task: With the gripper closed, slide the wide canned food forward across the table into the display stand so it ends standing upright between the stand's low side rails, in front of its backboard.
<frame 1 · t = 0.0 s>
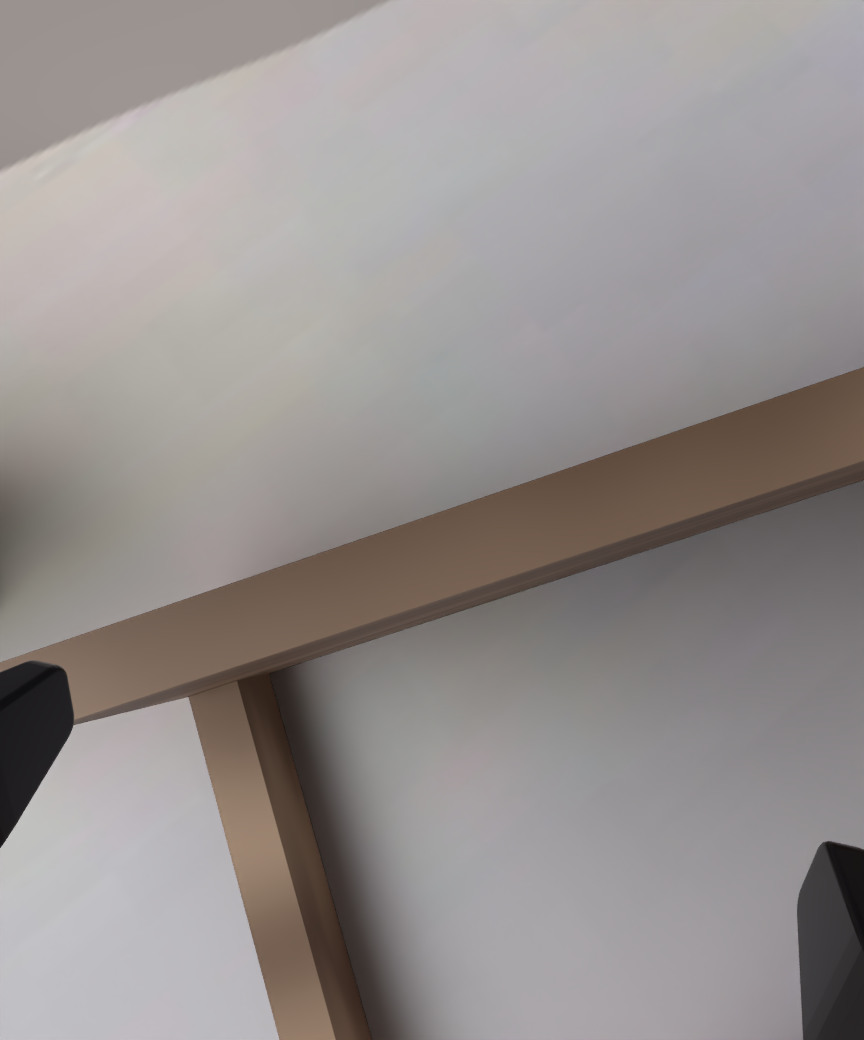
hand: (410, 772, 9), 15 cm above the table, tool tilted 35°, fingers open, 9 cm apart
display stand: (700, 815, 23), on the table
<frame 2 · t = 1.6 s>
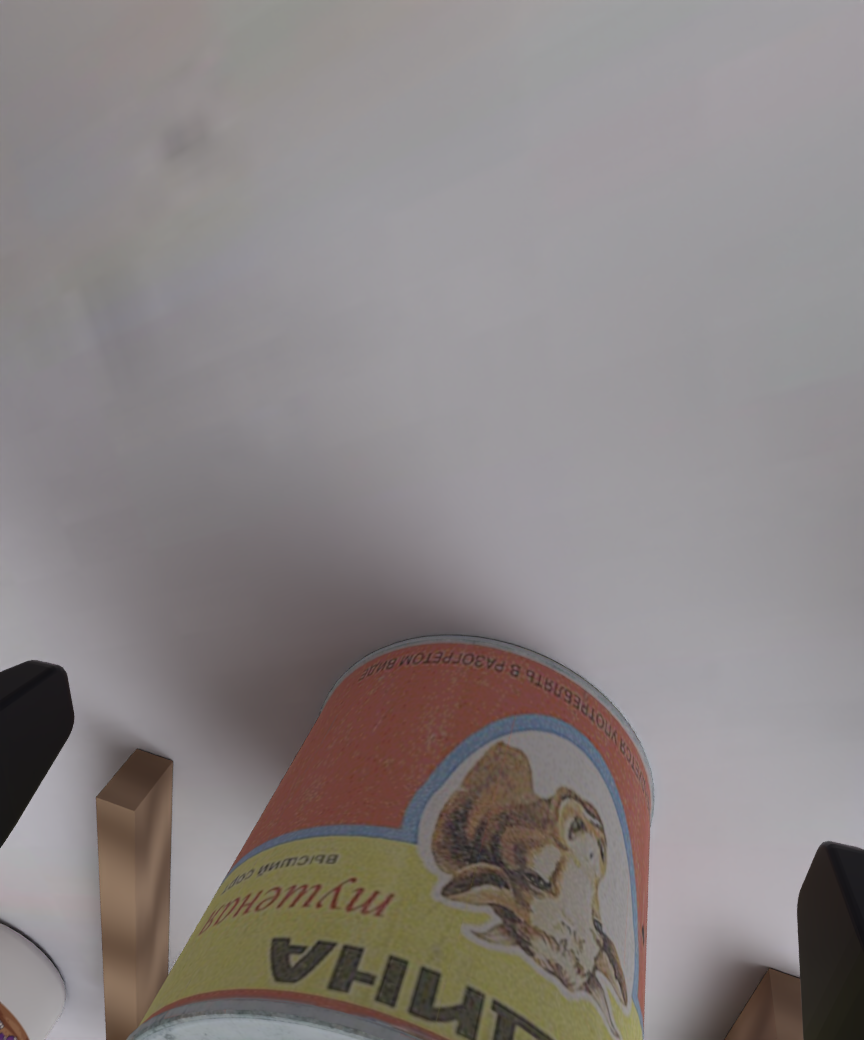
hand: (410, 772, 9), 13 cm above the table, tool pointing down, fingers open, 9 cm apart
canned food: (478, 773, 27), on the table
display stand: (417, 989, 33), on the table
milk bottle: (6, 959, 40), on the table
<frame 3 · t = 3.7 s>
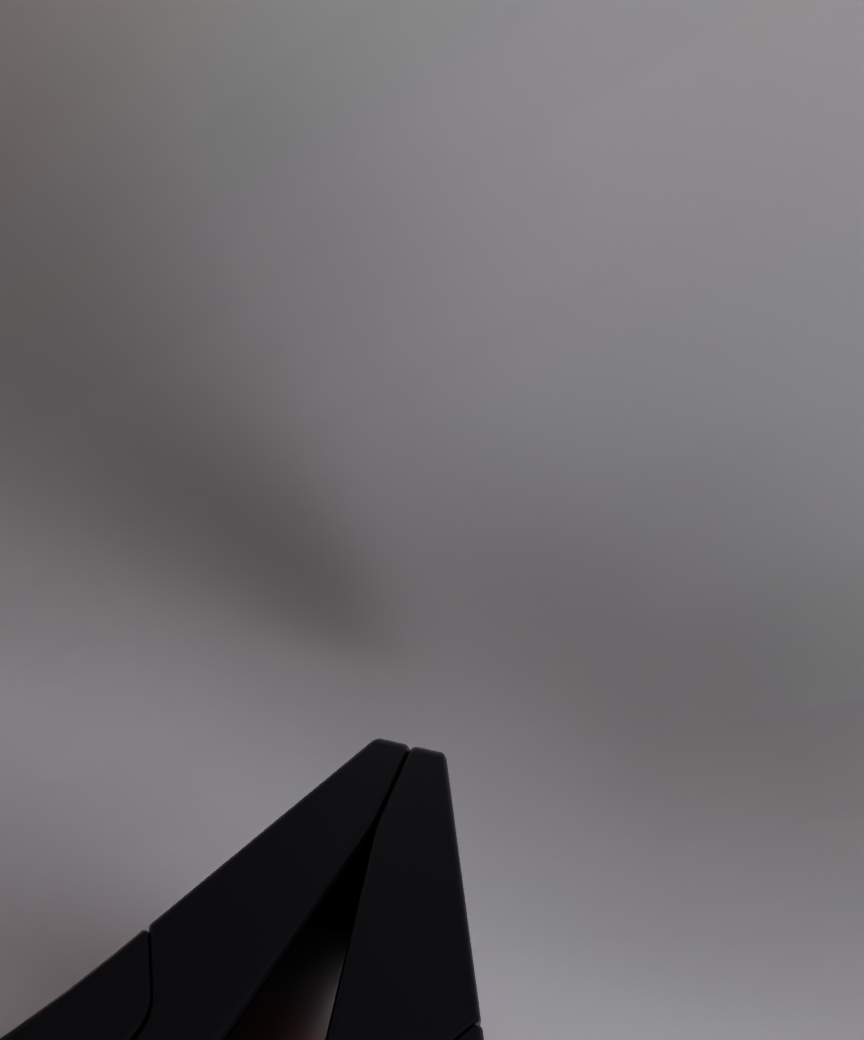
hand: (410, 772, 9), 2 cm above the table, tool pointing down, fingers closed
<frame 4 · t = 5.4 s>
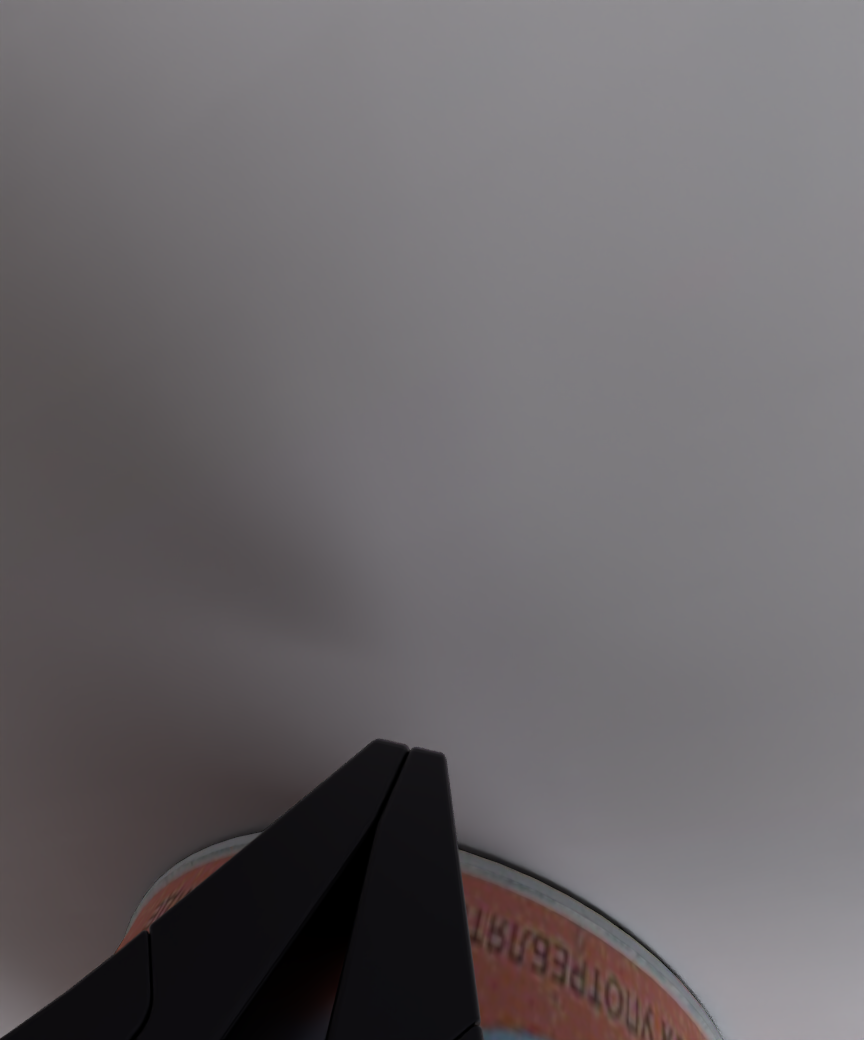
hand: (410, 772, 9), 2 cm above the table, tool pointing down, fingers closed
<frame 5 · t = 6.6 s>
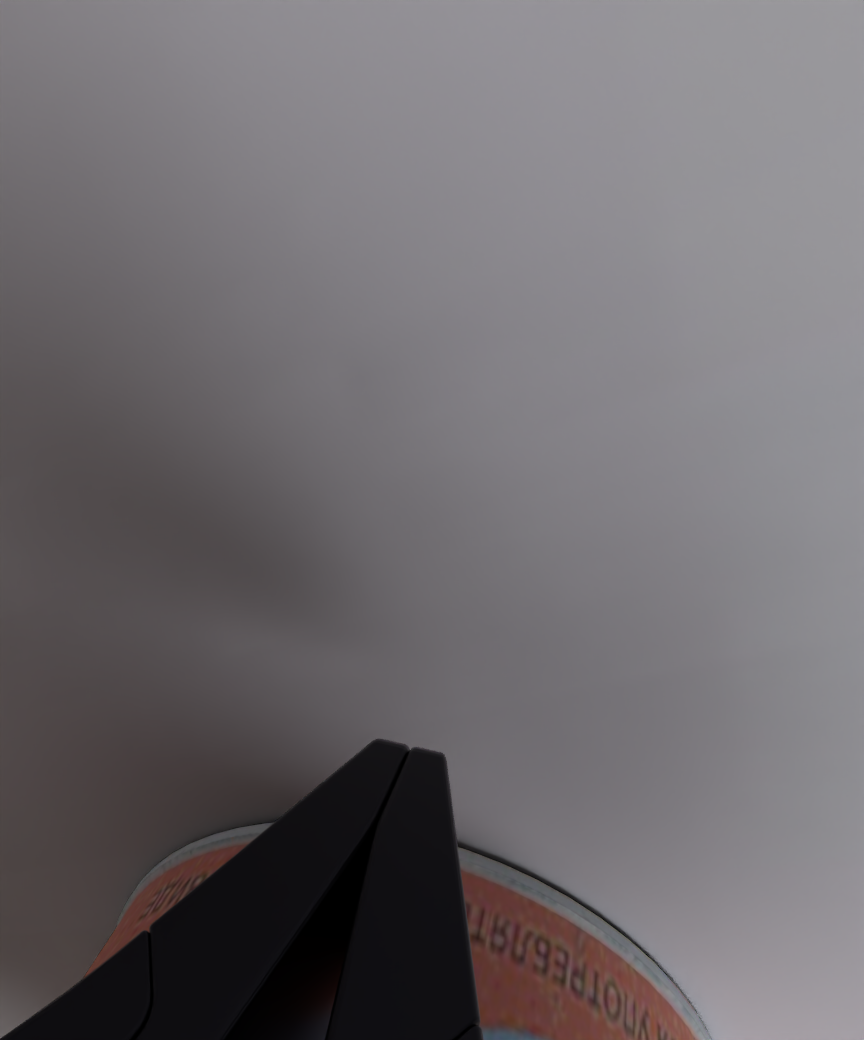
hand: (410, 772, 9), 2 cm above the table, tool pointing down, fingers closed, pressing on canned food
canned food: (402, 1039, 15), on the table, touching gripper
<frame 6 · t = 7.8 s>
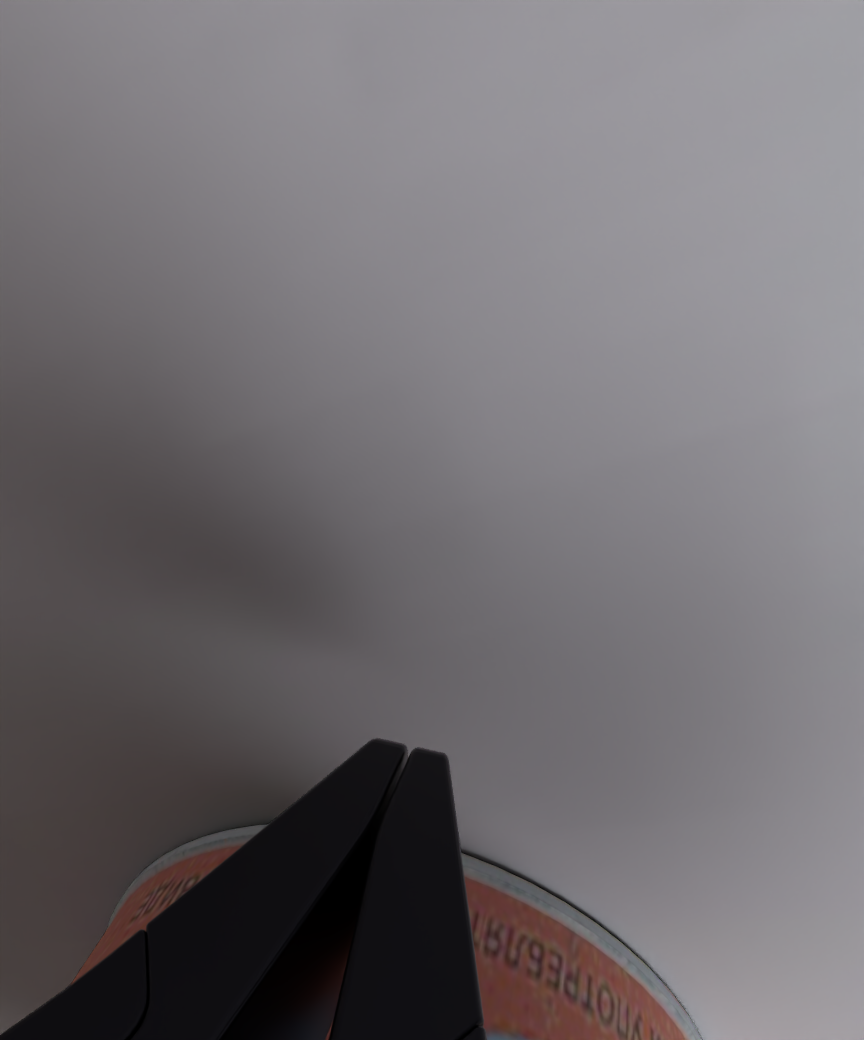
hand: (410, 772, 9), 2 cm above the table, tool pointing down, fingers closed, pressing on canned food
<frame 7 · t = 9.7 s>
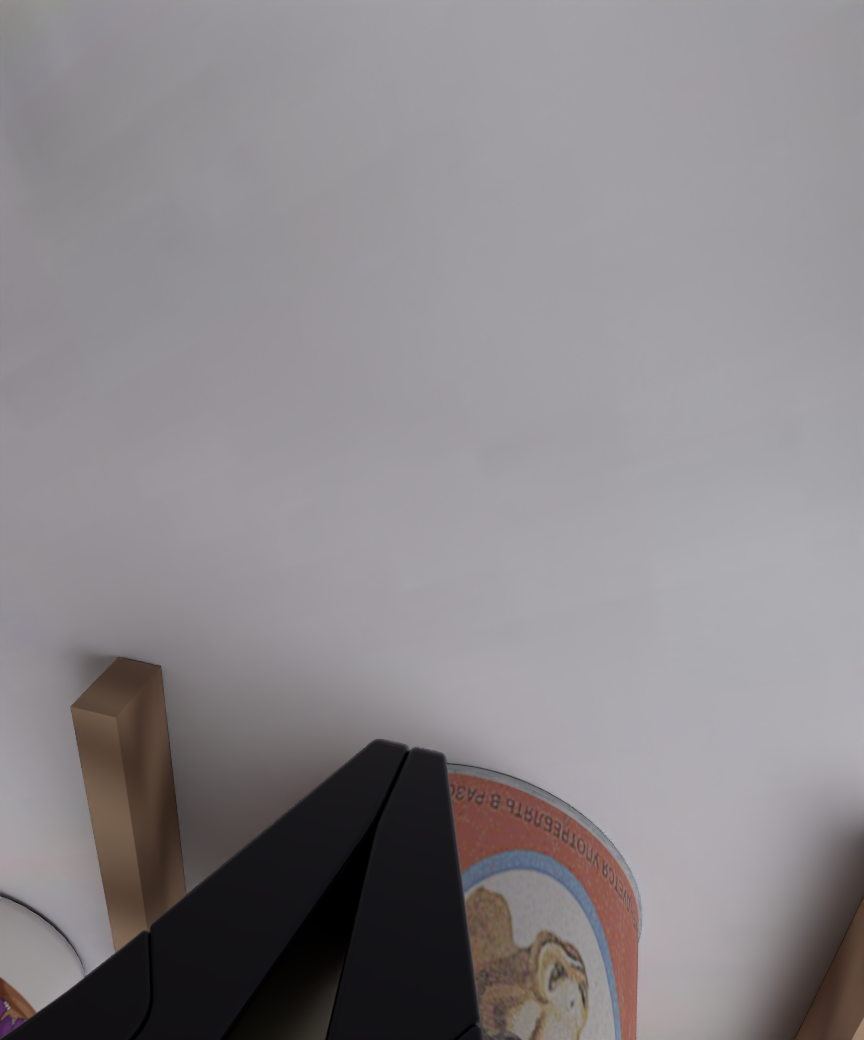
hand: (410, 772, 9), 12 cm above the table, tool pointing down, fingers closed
canned food: (470, 886, 28), on the table
display stand: (472, 917, 28), on the table
milk bottle: (16, 941, 36), on the table
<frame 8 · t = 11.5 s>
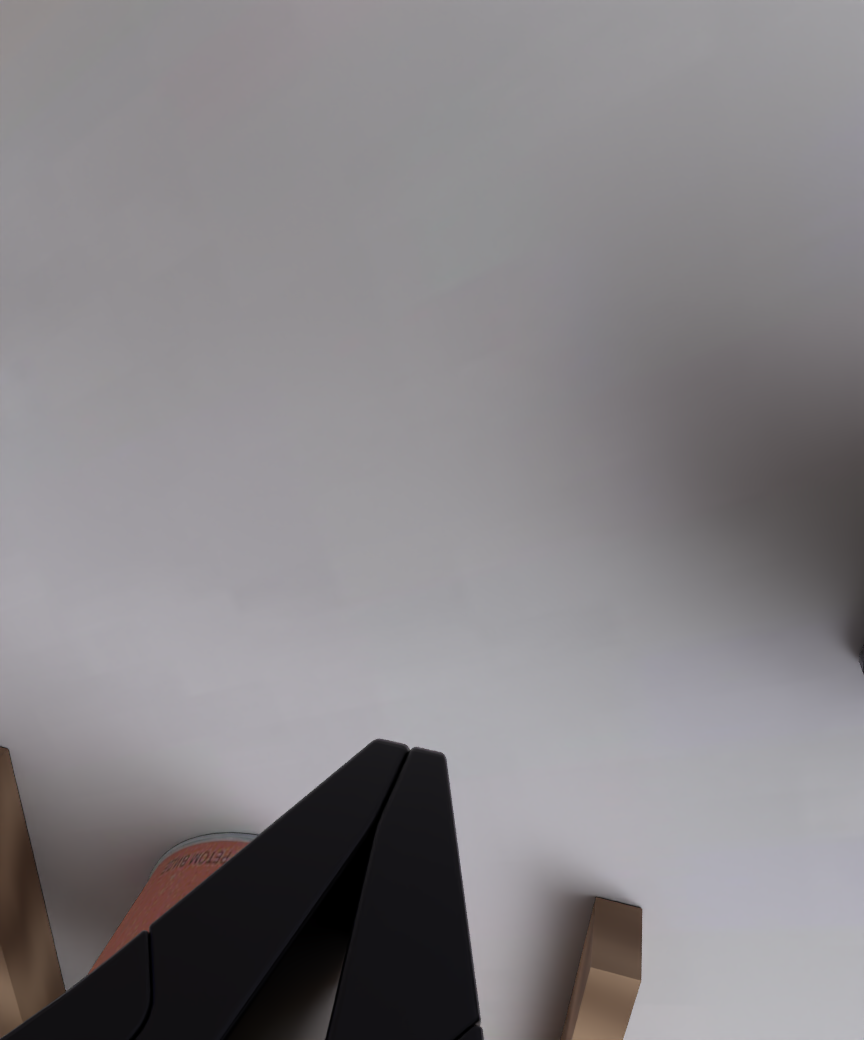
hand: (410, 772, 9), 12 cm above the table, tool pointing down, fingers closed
canned food: (281, 933, 32), on the table
display stand: (285, 959, 32), on the table
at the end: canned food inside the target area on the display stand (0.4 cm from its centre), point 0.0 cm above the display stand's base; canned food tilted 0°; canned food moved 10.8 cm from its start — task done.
